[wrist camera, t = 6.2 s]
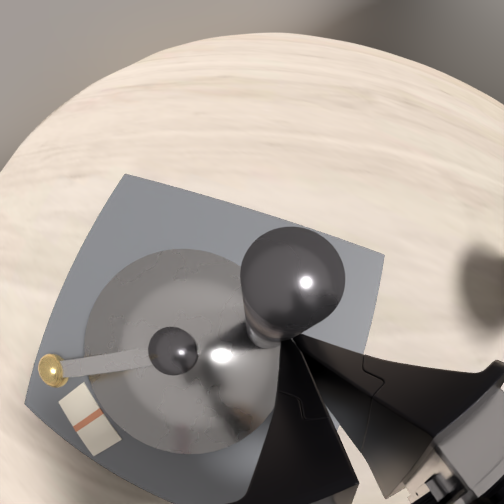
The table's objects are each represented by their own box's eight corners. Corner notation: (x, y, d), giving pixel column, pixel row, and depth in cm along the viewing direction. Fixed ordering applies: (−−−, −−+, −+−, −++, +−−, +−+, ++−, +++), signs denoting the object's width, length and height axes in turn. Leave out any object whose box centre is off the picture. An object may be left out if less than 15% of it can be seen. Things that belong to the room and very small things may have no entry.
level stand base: (282, 528, 13) (284, 534, 12) (31, 403, 16) (23, 404, 15) (379, 259, 21) (385, 254, 20) (128, 179, 24) (124, 172, 23)
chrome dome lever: (229, 486, 14) (204, 604, 2) (50, 374, 16) (-71, 356, 5) (316, 301, 19) (402, 211, 7) (128, 220, 21) (53, 109, 10)
